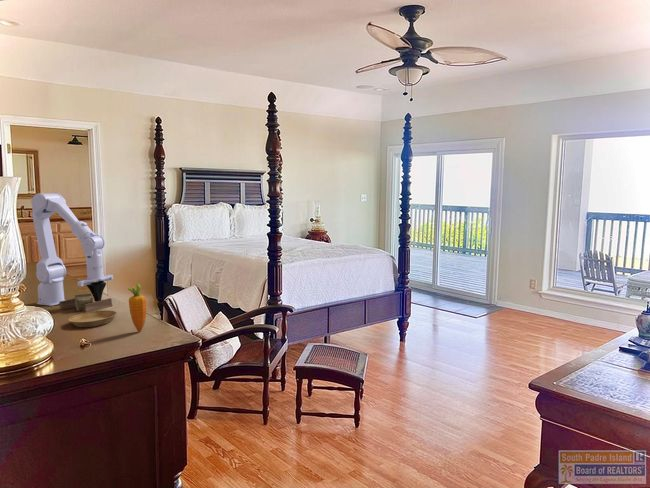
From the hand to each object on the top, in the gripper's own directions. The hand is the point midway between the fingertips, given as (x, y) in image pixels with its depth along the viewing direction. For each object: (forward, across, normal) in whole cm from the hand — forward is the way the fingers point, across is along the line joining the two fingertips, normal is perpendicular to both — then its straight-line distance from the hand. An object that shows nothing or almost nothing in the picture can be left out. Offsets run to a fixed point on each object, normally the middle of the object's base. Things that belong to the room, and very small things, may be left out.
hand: (97, 301), depth 186 cm
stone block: (+2, -6, 0) cm, 6 cm away
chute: (+1, -5, 0) cm, 5 cm away
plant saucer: (+2, -19, -22) cm, 29 cm away
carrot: (+2, -21, -46) cm, 51 cm away
